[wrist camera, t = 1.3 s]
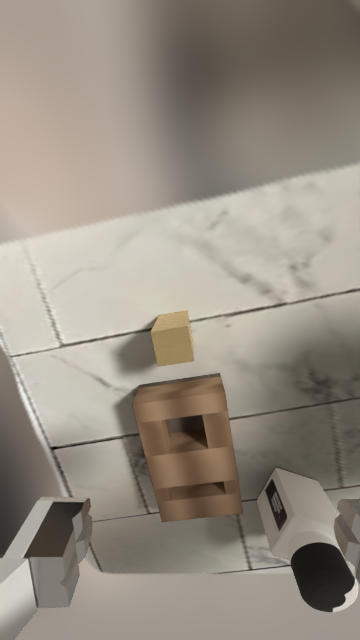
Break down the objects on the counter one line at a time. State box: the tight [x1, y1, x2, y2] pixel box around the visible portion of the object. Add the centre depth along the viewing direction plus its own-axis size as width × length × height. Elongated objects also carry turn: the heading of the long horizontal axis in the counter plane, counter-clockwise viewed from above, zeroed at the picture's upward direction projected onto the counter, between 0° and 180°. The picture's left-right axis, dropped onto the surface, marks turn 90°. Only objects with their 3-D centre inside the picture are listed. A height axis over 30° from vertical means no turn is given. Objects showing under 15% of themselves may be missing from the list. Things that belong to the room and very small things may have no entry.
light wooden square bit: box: [151, 310, 194, 367], centre depth 29 cm, size 4×4×8 cm
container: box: [257, 468, 358, 612], centre depth 33 cm, size 8×8×13 cm
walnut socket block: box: [132, 373, 243, 522], centre depth 35 cm, size 12×20×5 cm, turn 10°
